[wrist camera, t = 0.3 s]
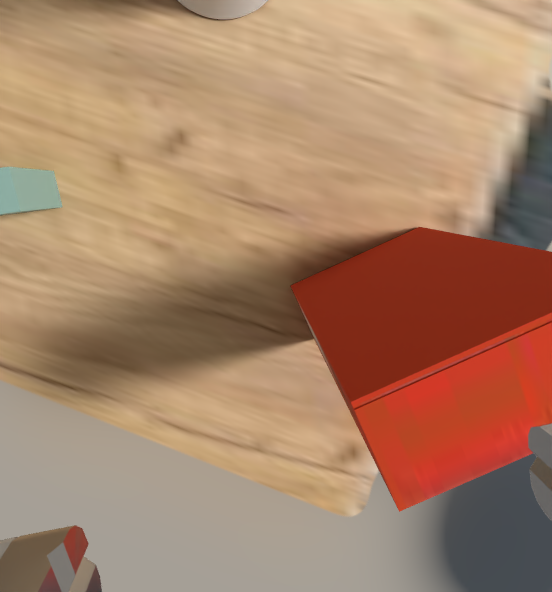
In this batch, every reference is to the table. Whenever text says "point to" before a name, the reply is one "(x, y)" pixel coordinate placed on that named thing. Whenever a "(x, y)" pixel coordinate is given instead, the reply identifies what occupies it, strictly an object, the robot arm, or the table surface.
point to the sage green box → (27, 190)
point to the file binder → (437, 353)
